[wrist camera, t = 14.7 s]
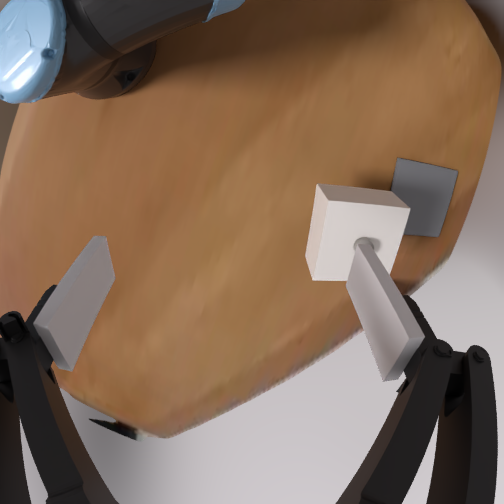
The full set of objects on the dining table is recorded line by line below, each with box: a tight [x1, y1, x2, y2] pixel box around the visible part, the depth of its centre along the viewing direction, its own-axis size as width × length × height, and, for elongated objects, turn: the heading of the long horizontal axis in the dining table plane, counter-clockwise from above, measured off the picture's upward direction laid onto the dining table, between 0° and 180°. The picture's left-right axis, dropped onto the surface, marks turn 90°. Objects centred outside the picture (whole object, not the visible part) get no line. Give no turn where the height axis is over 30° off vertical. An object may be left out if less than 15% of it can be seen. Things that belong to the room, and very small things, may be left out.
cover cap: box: [305, 183, 410, 281], centre depth 38 cm, size 11×11×7 cm
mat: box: [390, 158, 458, 237], centre depth 47 cm, size 14×14×1 cm
